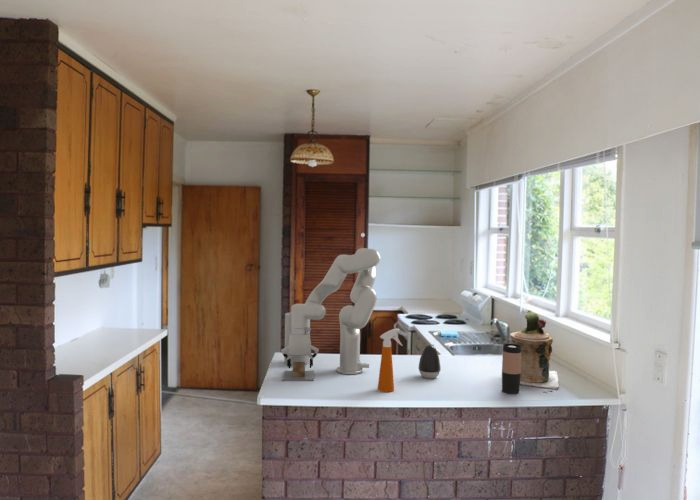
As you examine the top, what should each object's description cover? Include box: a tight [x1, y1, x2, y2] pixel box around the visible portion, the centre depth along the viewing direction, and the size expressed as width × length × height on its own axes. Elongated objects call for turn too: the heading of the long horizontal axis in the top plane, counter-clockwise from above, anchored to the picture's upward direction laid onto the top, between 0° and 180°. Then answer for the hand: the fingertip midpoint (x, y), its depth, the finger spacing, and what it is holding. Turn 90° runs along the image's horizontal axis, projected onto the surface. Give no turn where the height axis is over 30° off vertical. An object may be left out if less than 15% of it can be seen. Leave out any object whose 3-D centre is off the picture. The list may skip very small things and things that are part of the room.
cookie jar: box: [509, 309, 560, 390], centre depth 241 cm, size 25×25×32 cm
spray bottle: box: [377, 327, 403, 393], centre depth 221 cm, size 7×11×26 cm, turn 107°
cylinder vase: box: [284, 311, 311, 367], centre depth 261 cm, size 12×12×25 cm
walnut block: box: [292, 362, 306, 377], centre depth 238 cm, size 6×6×6 cm
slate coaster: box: [281, 370, 315, 382], centre depth 238 cm, size 14×14×1 cm
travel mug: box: [501, 343, 521, 395], centre depth 222 cm, size 8×8×20 cm
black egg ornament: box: [418, 344, 441, 379], centre depth 241 cm, size 10×10×15 cm
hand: (300, 367), depth 238 cm, fingers open, 9 cm apart
